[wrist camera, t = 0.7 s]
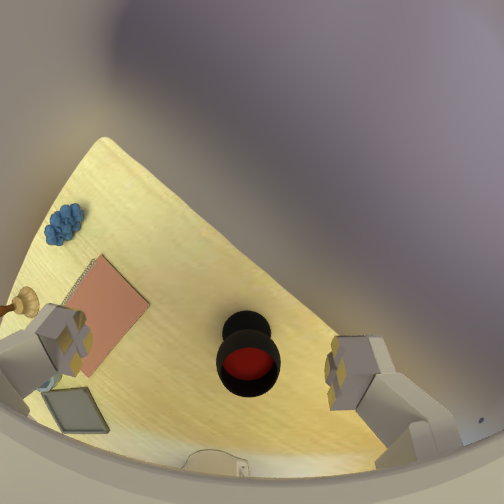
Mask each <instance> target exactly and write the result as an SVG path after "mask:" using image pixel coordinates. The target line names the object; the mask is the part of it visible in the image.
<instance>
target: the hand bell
mask: <svg viewBox="0 0 504 504" xmlns="http://www.w3.org/2000/svg"><path fill="white" fill-rule="evenodd" d="M10 311H14V312H15V313H16V314H24V315H25V316H27V317H29V318H33V317H35V316H36V315H37V314H38V311H39V301H38V298H37V295H36V293H35V292H34V291H33V290H32V289H31V288H29V287H24V288H22V289H21V290H20V292H19V295H18V296H16V297H14V298H13V300H12V304H10V305H8V306H0V317H2V316H4V315H5V314H6V313H7V312H10Z"/></svg>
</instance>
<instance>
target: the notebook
mask: <svg viewBox="0 0 504 504" xmlns="http://www.w3.org/2000/svg"><path fill="white" fill-rule="evenodd" d="M93 260H95V259H92V261H91V262H93V263H94V264H92V263H91V262H90V263H89V264H90V265H92V266H91V267H90V265H89V266H87V268H86V269H88V267H90V269H88V271H87V270H86V269H85V270H84V271H86V272H87V273H85V272H83V273H84V274H85V276H84V275H83V273H82V276H83V278H82V277H79V279H78V280H80V278H82V280H80V281H81V282H79V281H78V280H77V281H76V283H75V284H77V282H78V283H79V284H77V287H76V285H75V284H74V286H75V287H76V289H75V288H74V286H73V287H72V288H74V291H73V289H71V290H72V291H73V293H72V292H71V290H70V292H71V295H70V292H69V293H68V294H69V295H70V297H69V296H68V295H67V296H68V298H69V299H67V296H66V298H65V299H64V300H65V301H66V299H67V301H66V303H65V301H63V302H64V304H65V305H63V302H62V304H61V306H62V305H63V306H65V307H69V308H74V309H78V310H81V311H83V312H84V313H85V316H86V318H87V321H86V323H85V324H86V325H87V326H88V327H89V328H90V329H91V332H92V336H93V344H92V349H91V351H90V353H89V354H88V355H87V356H85V357H84V358H82V360H83V365H82V367H81V369H80V370H81V371H82V372H83V373H84V374H85V375H86V376H87V377H88V378H89V377H90V376H91V375H92V373H93V372H94V371H95V370H96V368H97V367H98V366H99V365H100V364H101V362H102V361H103V360H104V359H105V357H106V356H107V355H108V354H109V353H110V351H111V350H112V349H113V348H114V347H115V345H116V344H117V343H118V342H119V341H120V339H121V338H122V337H123V336H124V335H125V334H126V332H127V331H128V330H129V329H130V328H131V326H132V325H133V324H134V323H135V322H136V321H137V319H138V318H139V317H140V316H141V315H142V314H143V313H144V311H145V310H146V309H147V308H148V307H149V306H150V305H149V304H148V303H147V302H146V301H145V300H144V299H143V298H142V297H141V296H140V295H139V294H138V293H137V292H136V291H135V290H134V289H133V288H132V287H131V285H130V284H129V283H128V282H127V281H126V280H125V279H124V278H123V277H122V276H121V275H120V274H119V273H118V272H117V271H116V270H115V269H114V268H113V266H112V265H111V264H110V263H109V262H108V261H107V260H106V259H105V258H104V257H103V255H102V254H100V256H99V257H98V258H97V260H96V261H95V262H94V261H93Z"/></svg>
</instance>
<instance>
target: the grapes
mask: <svg viewBox="0 0 504 504" xmlns="http://www.w3.org/2000/svg"><path fill="white" fill-rule="evenodd" d="M82 220H83V211H82V210H80V206H79V204H77V203H74V204H71V205H70V206H69V205H63V206H61V208H60V211H56V212H54V214H52V215H51V217H50V224H51V225H47V226H46V227H45V231H44V233H45V236H46V242H47V244H49V245H56V246H61V245H63V242H64V240H72V236H73V232H72V231H78V230H79V229H80V221H82Z"/></svg>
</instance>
